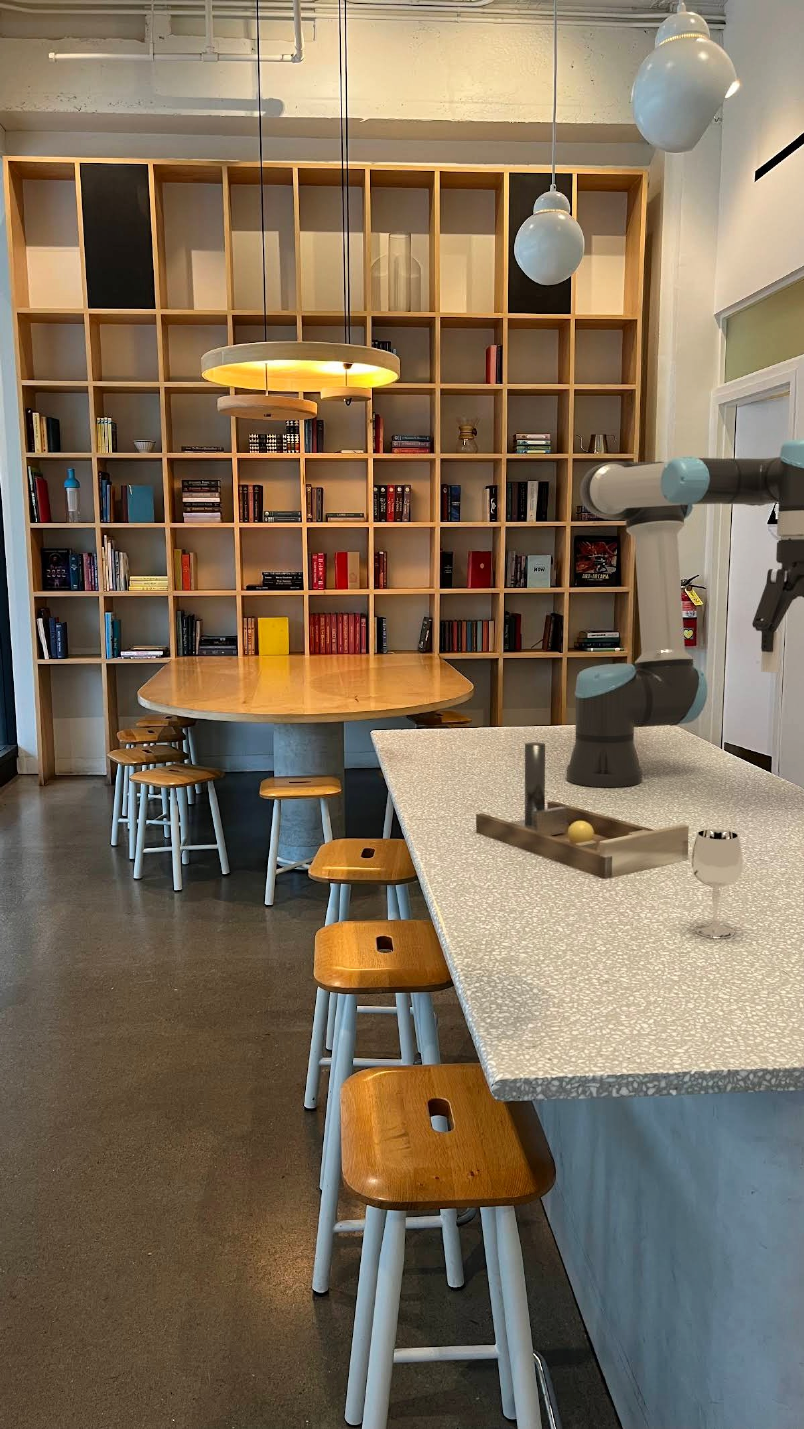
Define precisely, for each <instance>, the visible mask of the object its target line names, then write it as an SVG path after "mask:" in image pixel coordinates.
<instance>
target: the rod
mask: <svg viewBox="0 0 804 1429" xmlns="http://www.w3.org/2000/svg"><path fill="white" fill-rule="evenodd" d="M509 822H510V823H513V824H516V825H519V826H523V827H526V828H529V829H532V830H535V831H538V832H541V833H544V834H547V835H556V834H561V833H566V830H568V823H566V808H565V807H562V806H561V807H556V808H550V809H547V808H546V744H545V743H544V742H536V741H535V742H526V743H524V819H520V820H515V821H509Z"/></svg>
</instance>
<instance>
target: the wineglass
mask: <svg viewBox="0 0 804 1429" xmlns="http://www.w3.org/2000/svg"><path fill="white" fill-rule="evenodd" d="M693 844H694V845H693V848H692V853H691V867H692V868H691V869H692V873H693V875H694V876H695V878H696V879H697V880H698V881H699V882H701V883H702V884H703V885H706V886H709V887H712V888H713V889H712V891H711V899H712V904H713V905H712V906H713V915H712V916H713V917H712V921H711V923H710V924H702V925H699V926H697V927H696V928H695V933H696V934H698V935H699V936H701V937H702V936H703V937H706V938H711V939H719V940H720V939H722V940H723V939H728V938H731V937H734V935H735V931H734V930H733V929H732V928H730V927H727V926H724V925H720V924H719V923H720V922H719V920H718V909H719V908H718V907H719V901H720V899H721V891H720V890H719V889H720V888H725V887H728V886H731V885H733V884H735V883H736V882H737V881H738V880H739V879H740V877H741V875H742V872H743V861H744V860H743V851H742V846H741V841H740V837H739V834H738V833H737V832H734V831H730V830H724V829H703V830H699V831H697V834H696V837H695V840H694V843H693Z"/></svg>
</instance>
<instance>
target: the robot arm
mask: <svg viewBox="0 0 804 1429" xmlns="http://www.w3.org/2000/svg"><path fill="white" fill-rule="evenodd" d="M780 447H781V448H780V454H779V456H777V457H770V458H742V457H741V458H737V457H736V458H730V457H729V458H728V457H727V458H723V457H722V458H719V457H717V458H716V457H695V456H683V457H676V458H672V459H670V460H669V461H667V462H665V461H608V462H603V463H601V464H598V465H595V466H593V467H591V469H589V470H588V471H587V473H585V475H584V477H583V479H582V481H581V484H580V491H579V492H580V500H581V501H582V504H583V506H584V507H585V509H586V510H587V511H588V512H590V513H591V514H592V515H594V516H596V517H597V518H601V519H604V520H609V521H625V530H626V532H627V534H629V535H630V536H631V537H633V539H634V551H635V552H634V554H635V565H636V566H635V567H636V582H637V585H636V586H637V600H638V614H639V632H640V644H641V645H640V646H641V654H640V655H639V657H638V658H637V659H636V660H635V661H634V664H631V663H613V664H612V663H608V664H601V665H595V666H591V667H588V668H585V669H583V670H581V671H579V673H578V674H577V675H576V676H577V677H576V683H575V691H574V695H575V742H574V746H573V750H572V753H571V756H570V759H569V760H570V761H569V764H568V765H567V766H566V780H567V782H570V783H572V784H575V785H580V786H587V787H594V788H595V787H597V788H622V787H628V786H634V785H638V784H640V783H642V782H643V769H642V766H640V763H639V762H640V761H639V757H638V754H637V753H638V752H637V750H636V747H635V740H634V739H635V736H634V734H635V728H645V727H646V728H647V727H648V728H649V727H661V726H662V727H665V726H671V727H673V726H675V727H676V726H678V725H684V724H690V723H693V722H694V721H696V720H697V719H698V717H699V716H700V715H701V713H702V711H703V710H704V708H705V706H706V701H707V697H708V681H707V678H706V676H704V675H705V674H704V672H703V671H702V669H701V668H698V667H696V666H694V658H693V657H692V655H690V654H689V653H688V652H687V651H686V648H685V647H686V646H685V634H684V632H685V631H684V621H683V620H684V619H683V603H682V602H683V601H682V588H681V587H682V586H681V574H680V558H679V541H678V540H679V539H678V534H679V532H680V531H681V530H682V529H683V527H685V519H686V518H688V517H689V516H690V515H691V514H692V511H693V509H694V507H693V505H745V506H754V507H755V506H759V507H762V506H765V505H770V504H772V505H773V504H776V503H777V504H778V508H777V511H778V512H777V527H776V528H777V529H776V535H777V537H780V539H779V540H778V541H777V542H776V556H775V557H776V558H775V561H776V562H777V563H778V564H781V568H769V569H768V570H767V574H766V582H765V583H766V584H765V587H764V589H763V592H762V595H761V597H760V601H759V603H758V606H757V609H756V612H755V614H754V618H753V621H752V628H754V629H755V631H756V632H761V646H760V649H761V665H760V666H761V671H760V672H762V673H770V674H771V673H774V674H778V673H779V670H780V668H779V666H780V648H781V646H780V644H781V643H780V642H781V631H777V630H778V628H779V626H780V625H781V623H782V620H783V619H784V617H785V615H786V614H787V611H788V610H789V608H790V606H791V604H792V602H793V601H794V600H796V599H797V598H799V597H802V598H804V439H803V438H802V439H801V438H799V439H793V440H792V439H791V440H788V441H785V442H783V443H782V445H781V446H780Z"/></svg>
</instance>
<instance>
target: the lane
mask: <svg viewBox="0 0 804 1429" xmlns="http://www.w3.org/2000/svg"><path fill="white" fill-rule="evenodd" d="M561 806H562V807H565V808H566V823H568V829H569V827H570V825H571V824H573V823H574V822H576V821H585V822H587V823H589V824H590V825H591V826H592V828H593V830H594V838H593V841H592V840H591V841H587V842H582V843H577V844H574V843H571V842H570V841H569V839H568V830H566V833H561V834H556V835H547V834H544V833H541V832H538V831H535V830H532V829H529V828H526V827H523V826H519V825H516V824H513V823H510V822H511V821H507V820H504V819H500V818H498V817H495V816H492V815H489V814H485V813H482V812H481V813H480V812H479V813H476V814H475V831H476V832H475V833H476V834H478V835H482V836H484V837H487V838H491V839H492V840H496V841H497V842H502V843H504V844H507V845H510V846H512V847H514V848H518V849H521V850H523V851H526V852H529V853H531V854H533V855H538V856H540V857H543V858H545V859H548V860H550V861H554V862H557V863H559V864H562V865H564V866H568V867H570V868H572V869H576V870H577V871H581V872H584V873H587V874H589V875H593V876H595V877H597V878H598V877H599V878H601V879H604V880H608V879H612V878H616V877H620V876H625V875H629V874H634V873H637V872H643V871H646V870H651V869H655V868H659V867H663V866H668V865H673V864H676V863H677V864H678V863H681V862H685V861H688V860H689V829H690V828H689V825H686V824H678V825H673V826H669V827H664V828H657V829H652V828H649V827H645V826H642V825H638V824H635V823H632V822H629V821H625V820H622V819H617V818H614V817H610V816H607V815H603V814H600V813H598V812H593V811H590V810H586V809H582V808H578V807H575V806H572V805H568V804H565V803H562V802H558V801H554V800H550V801H547V808H546V809H550V808H556V807H561Z"/></svg>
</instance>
